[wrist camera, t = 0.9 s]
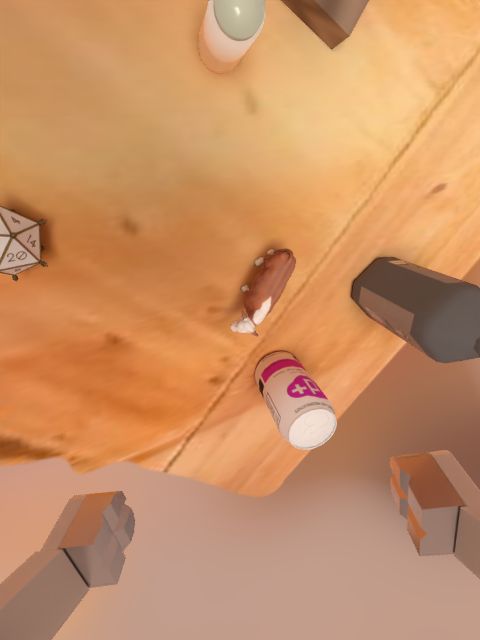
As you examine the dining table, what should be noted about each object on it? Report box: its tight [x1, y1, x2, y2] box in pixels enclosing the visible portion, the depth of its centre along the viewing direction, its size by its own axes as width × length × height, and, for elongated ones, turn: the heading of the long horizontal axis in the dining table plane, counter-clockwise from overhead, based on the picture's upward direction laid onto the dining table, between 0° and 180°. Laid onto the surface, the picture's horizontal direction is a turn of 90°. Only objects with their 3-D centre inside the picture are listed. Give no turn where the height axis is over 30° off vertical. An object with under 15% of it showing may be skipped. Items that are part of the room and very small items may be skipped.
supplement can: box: [255, 351, 336, 450], centre depth 49 cm, size 8×8×15 cm
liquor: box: [352, 257, 480, 363], centre depth 40 cm, size 9×9×30 cm
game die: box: [0, 206, 48, 281], centre depth 35 cm, size 9×8×10 cm
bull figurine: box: [230, 249, 296, 336], centre depth 45 cm, size 4×13×8 cm, turn 145°
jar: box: [198, 0, 266, 74], centre depth 31 cm, size 5×5×10 cm
